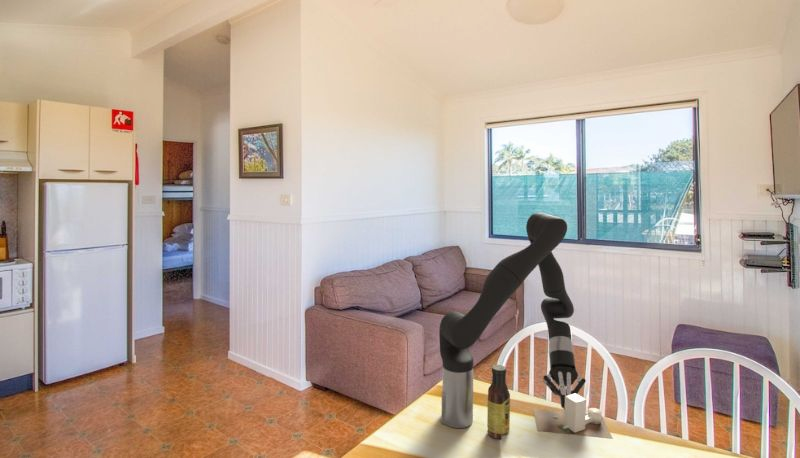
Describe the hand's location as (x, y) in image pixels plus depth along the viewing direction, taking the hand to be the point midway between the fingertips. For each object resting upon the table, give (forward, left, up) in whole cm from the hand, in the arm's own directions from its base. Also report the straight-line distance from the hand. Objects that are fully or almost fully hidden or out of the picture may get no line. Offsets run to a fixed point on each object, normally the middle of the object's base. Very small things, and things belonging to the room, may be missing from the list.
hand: (566, 409), depth 129 cm
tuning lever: (+4, -3, -3) cm, 5 cm away
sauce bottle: (-20, -9, -5) cm, 22 cm away
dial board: (+1, -2, -5) cm, 5 cm away
